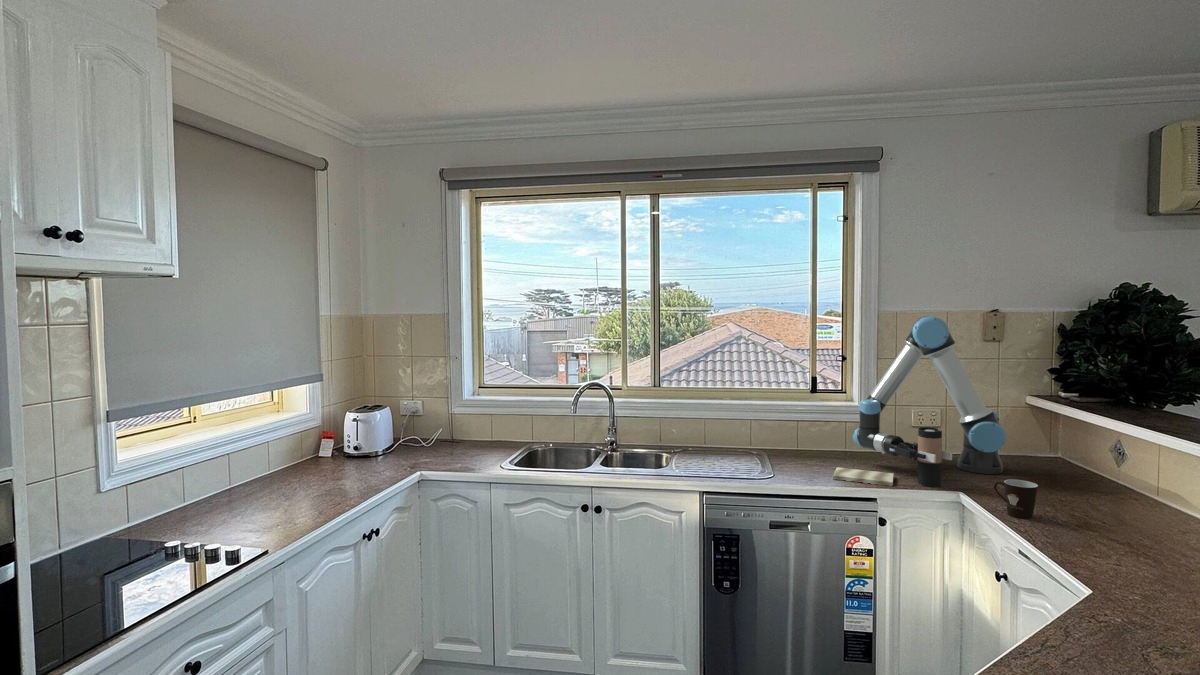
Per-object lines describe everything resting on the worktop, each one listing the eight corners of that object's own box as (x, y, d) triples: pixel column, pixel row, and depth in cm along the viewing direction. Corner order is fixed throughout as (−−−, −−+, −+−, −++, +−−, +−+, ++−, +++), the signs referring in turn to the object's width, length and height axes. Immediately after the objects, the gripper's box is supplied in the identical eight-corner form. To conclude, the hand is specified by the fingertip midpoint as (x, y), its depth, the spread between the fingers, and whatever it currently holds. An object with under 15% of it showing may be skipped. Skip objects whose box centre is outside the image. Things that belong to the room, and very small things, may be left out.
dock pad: (893, 477, 230) (893, 473, 230) (892, 486, 219) (892, 482, 219) (836, 471, 239) (836, 467, 239) (832, 479, 228) (833, 475, 228)
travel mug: (914, 484, 221) (915, 429, 219) (920, 479, 226) (921, 426, 225) (938, 488, 216) (938, 432, 214) (943, 483, 221) (944, 428, 220)
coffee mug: (1043, 520, 184) (1045, 487, 183) (1014, 520, 184) (1015, 487, 183) (1018, 507, 195) (1019, 476, 195) (990, 507, 195) (991, 476, 195)
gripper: (908, 451, 241) (962, 465, 220) (869, 456, 233) (922, 471, 212) (908, 432, 240) (963, 444, 219) (869, 437, 232) (922, 449, 211)
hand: (943, 457), depth 215 cm, fingers closed on travel mug, 7 cm apart
